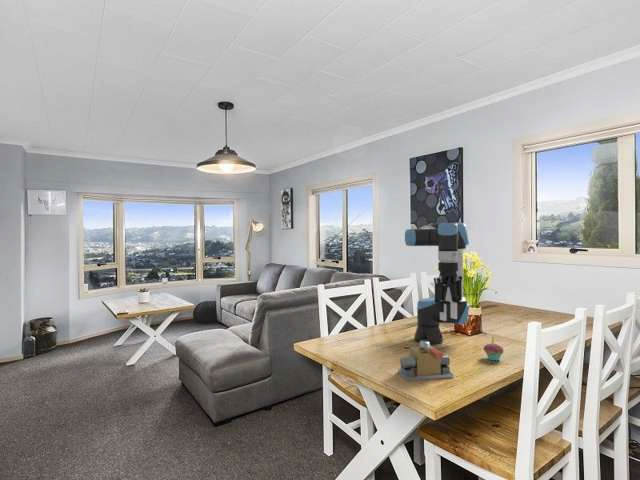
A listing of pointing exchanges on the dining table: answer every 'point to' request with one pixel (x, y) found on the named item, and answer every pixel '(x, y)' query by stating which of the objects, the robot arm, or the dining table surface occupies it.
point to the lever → (431, 350)
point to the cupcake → (493, 351)
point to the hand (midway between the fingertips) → (448, 319)
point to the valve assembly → (424, 366)
